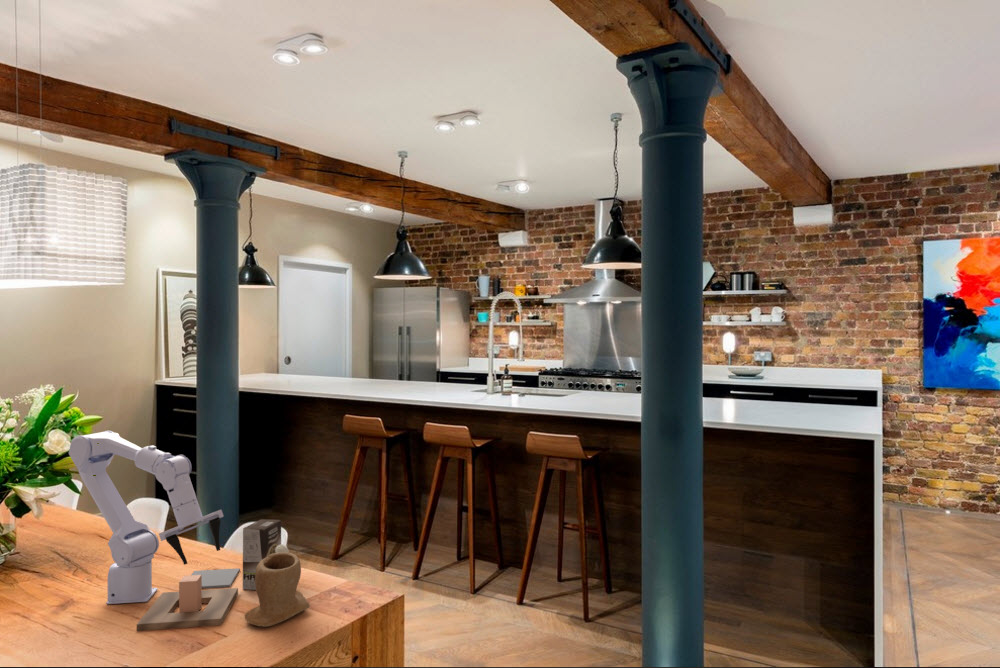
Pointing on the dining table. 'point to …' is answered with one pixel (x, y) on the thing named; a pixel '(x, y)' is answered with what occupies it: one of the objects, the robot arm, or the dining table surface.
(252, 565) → the coffee box
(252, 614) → the stone cup
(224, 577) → the slate mat
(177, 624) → the walnut pocket board
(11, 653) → the dining table surface
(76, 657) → the dining table surface
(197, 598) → the terracotta block
